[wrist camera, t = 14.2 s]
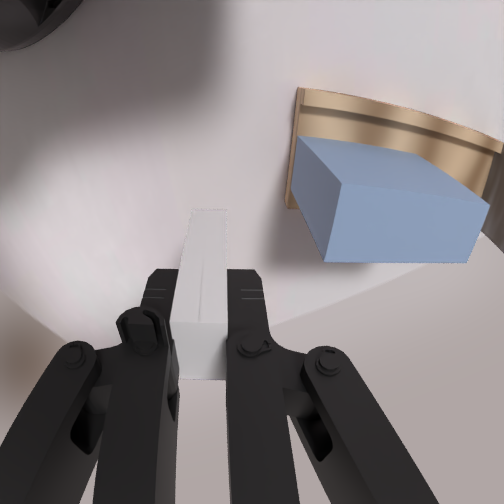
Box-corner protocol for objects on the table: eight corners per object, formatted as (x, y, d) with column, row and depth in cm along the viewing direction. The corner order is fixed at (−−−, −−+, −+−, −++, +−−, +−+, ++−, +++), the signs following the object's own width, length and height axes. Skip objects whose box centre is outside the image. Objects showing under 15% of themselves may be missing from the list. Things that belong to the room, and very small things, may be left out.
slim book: (290, 189, 24) (323, 262, 16) (297, 135, 22) (341, 183, 14) (404, 199, 25) (466, 263, 17) (416, 154, 23) (490, 205, 15)
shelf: (284, 201, 27) (326, 312, 15) (297, 87, 21) (373, 112, 10) (471, 217, 29) (542, 289, 18) (494, 138, 23) (585, 193, 12)
